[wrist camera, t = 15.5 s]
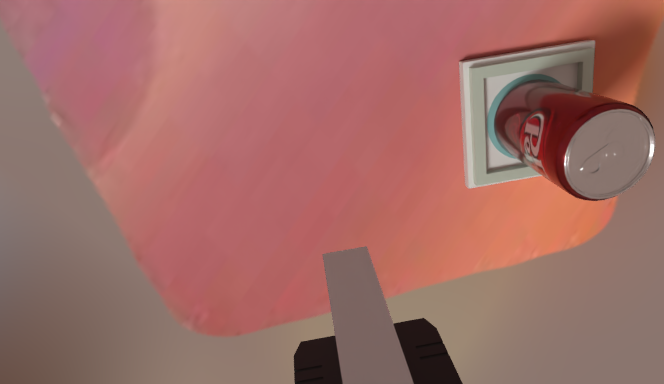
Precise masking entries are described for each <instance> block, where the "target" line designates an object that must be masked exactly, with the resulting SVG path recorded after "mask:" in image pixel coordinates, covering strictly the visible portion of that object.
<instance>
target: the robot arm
mask: <svg viewBox="0 0 664 384" xmlns="http://www.w3.org/2000/svg"><path fill="white" fill-rule="evenodd" d="M323 260H324V267H325V273H326V280H327V286H328V292H329V299H330V305H331V312H332V317H333V324H334V331H335V336H330V337H325V338H319V339H314V340H309V341H303V342H301V343H300V345H299V347H298V349H297V351H296V353H295V355H294V371H295V373H294V374H295V384H462V382H461V380H460V378H459V375H458V373H457V371H456V369H455V367H454V365H453V362H452V360H451V358H450V356H449V355H448V352H447V350H446V348H445V345H444V344H443V341H442V339H441V337H440V335H439V333H438V331H437V328H435V327H434V326H433V325H432V324H431V323H429V322H428V321H427V320H426V319H424V318H422V319H416V320H410V321H405V322H400V323H395V324H393V322H392V319H391V316H390V313H389V310H388V307H387V304H386V301H385V298H384V295H383V292H382V290H381V287H380V284H379V281H378V278H377V275H376V272H375V269H374V266H373V263H372V260H371V257H370V255H369V252H368V249H367V246H365V247H360V248H354V249H348V250H343V251H337V252H332V253H326V254H323Z"/></svg>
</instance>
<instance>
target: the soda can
mask: <svg viewBox="0 0 664 384" xmlns="http://www.w3.org/2000/svg"><path fill="white" fill-rule="evenodd" d="M494 132H495V136H496V139H497V141H498V143H499V144H500V146H501V147H502V148H503V149H504V150H505V151H506V152H508V153H509V154H511V155H512V156H514V157H515V158H517V159H518V160H520V161H521V162H523V163H524V164H526V165H527V166H529V167H530V168H532V169H533V170H535V171H536V172H538V173H539V174H541V175H542V176H544V177H545V178H547V179H548V180H550V181H551V182H553V183H554V184H556V185H557V186H559V187H560V188H562V189H563V190H565V191H566V192H568V193H569V194H571V195H573V196H574V197H576V198H579V199H583V200H590V201H598V200H605V199H609V198H612V197H615V196H617V195H619V194H621V193H623V192H625V191H627V190H628V189H630V188H631V187H633V186H634V185H635V184H636V183H637V182H638V181H639V180H640V179H641V178H642V176H643V175H644V174H645V173H646V171H647V169H648V168H649V166H650V164H651V161H652V158H653V156H654V150H655V134H654V131H653V126H652V124H651V122H650V120H649V119H648V118H647V116H646V115H645V114H644V113H643V112H642V111H641V110H640V109H638V108H637V107H635V106H633V105H630V104H627V103H624V102H621V101H618V100H614V99H611V98H607V97H604V96H600V95H597V94H594V93H590V92H587V91H583V90H580V89H576V88H573V87H570V86H566V85H563V84H559V83H556V82H552V81H549V80H543V79H536V80H530V81H526V82H523V83H521V84H519V85H517V86H516V87H514V88H513V89H512V90H510V91H509V92H508V93H507V94H506V95H505V96H504V98H503V99H502V101H501V102H500V104H499V106H498V108H497V110H496V113H495V118H494Z"/></svg>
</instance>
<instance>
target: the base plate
mask: <svg viewBox="0 0 664 384" xmlns="http://www.w3.org/2000/svg"><path fill="white" fill-rule="evenodd" d="M594 54H595V40H584V41H578V42H572V43H566V44H560V45H554V46H548V47H542V48H536V49H530V50H524V51H518V52H512V53H506V54H500V55H495V56H489V57H483V58H477V59H471V60H465V61H459V72H460V92H461V112H462V132H463V153H464V173H465V185H466V186H467V187H468V188H474V187H480V186H486V185H492V184H497V183H503V182H509V181H514V180H520V179H526V178H531V177H537V176H542V175H541V174H539V173H538V172H536V171H535V170H533V169H532V168H530V167H529V166H527V165H526V164H524V163H523V162H521V161H520V160H518V159H517V158H515V157H514V156H512V155H511V154H509V153H508V152H506V151H505V150H504V149H503V148H502V147H501V146H500V144H499V143H498V141H497V139H496V136H495V132H494V118H495V113H496V110H497V108H498V106H499V104H500V102H501V101H502V99H503V98H504V96H505V95H506V94H507V93H508V92H509V91H510V90H512V89H513V88H514V87H516V86H517V85H519V84H521V83H523V82H526V81H530V80H536V79H543V80H549V81H552V82H556V83H559V84H563V85H566V86H570V87H573V88H576V89H580V90H583V91H587V92H590V93H592V92H593V73H594Z"/></svg>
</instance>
